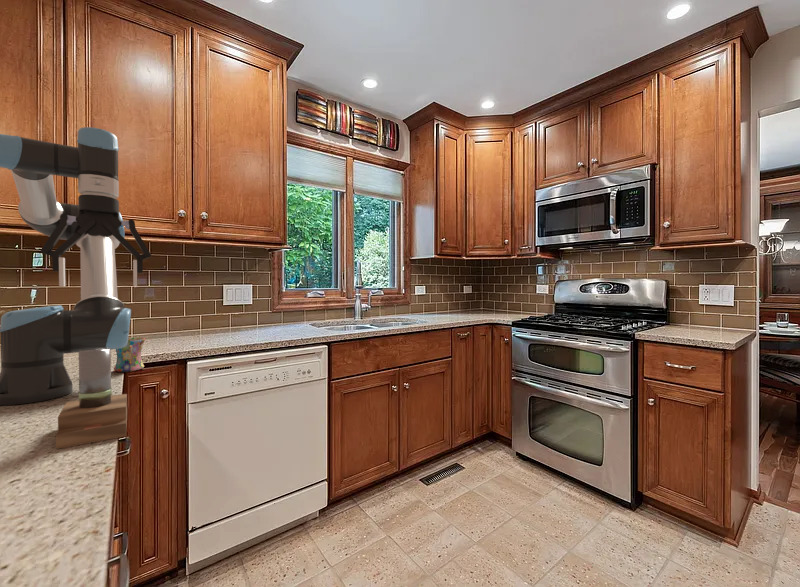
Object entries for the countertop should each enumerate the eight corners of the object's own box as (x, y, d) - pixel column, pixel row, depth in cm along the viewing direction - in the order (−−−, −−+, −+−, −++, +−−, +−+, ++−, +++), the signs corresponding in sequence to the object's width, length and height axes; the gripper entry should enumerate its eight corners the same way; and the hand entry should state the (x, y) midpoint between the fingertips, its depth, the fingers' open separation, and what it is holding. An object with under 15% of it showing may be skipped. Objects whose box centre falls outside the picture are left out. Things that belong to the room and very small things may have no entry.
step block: (67, 425, 77) (66, 401, 77) (127, 416, 83) (126, 393, 83) (56, 449, 66) (55, 421, 66) (126, 436, 72) (125, 410, 72)
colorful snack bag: (111, 369, 129) (110, 339, 129) (143, 366, 135) (143, 336, 135) (113, 376, 120) (113, 343, 119) (148, 372, 126) (148, 340, 126)
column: (80, 403, 76) (79, 349, 76) (112, 398, 79) (112, 347, 79) (77, 410, 72) (76, 352, 72) (111, 405, 75) (110, 350, 75)
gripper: (21, 185, 79) (23, 286, 79) (162, 200, 93) (163, 286, 94) (29, 192, 85) (31, 286, 85) (160, 206, 99) (161, 286, 100)
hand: (100, 286), depth 90 cm, fingers open, 13 cm apart
